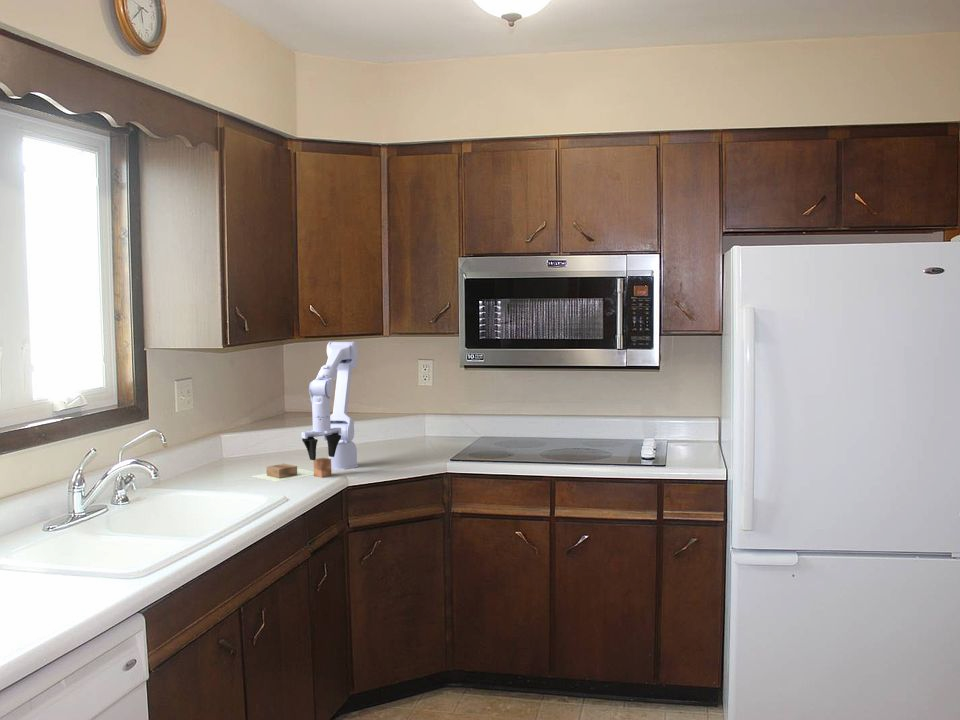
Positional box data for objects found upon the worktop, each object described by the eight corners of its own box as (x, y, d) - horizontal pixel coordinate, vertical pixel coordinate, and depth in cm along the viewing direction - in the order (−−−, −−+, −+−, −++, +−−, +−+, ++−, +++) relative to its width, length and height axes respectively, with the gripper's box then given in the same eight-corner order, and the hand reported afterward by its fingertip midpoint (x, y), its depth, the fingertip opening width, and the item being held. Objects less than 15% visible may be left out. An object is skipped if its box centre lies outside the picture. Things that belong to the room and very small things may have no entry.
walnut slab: (284, 472, 275) (284, 463, 275) (297, 475, 270) (297, 466, 270) (266, 475, 270) (266, 466, 270) (279, 478, 265) (279, 469, 265)
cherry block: (323, 475, 272) (323, 457, 271) (331, 477, 269) (331, 458, 269) (313, 477, 269) (313, 459, 268) (321, 479, 266) (321, 460, 266)
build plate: (297, 469, 283) (297, 468, 283) (322, 474, 274) (322, 473, 274) (251, 477, 270) (251, 476, 269) (276, 482, 260) (276, 481, 260)
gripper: (310, 419, 260) (311, 462, 260) (346, 415, 270) (347, 456, 271) (297, 418, 264) (298, 460, 265) (333, 413, 275) (334, 454, 276)
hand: (322, 458), depth 268 cm, fingers open, 7 cm apart
